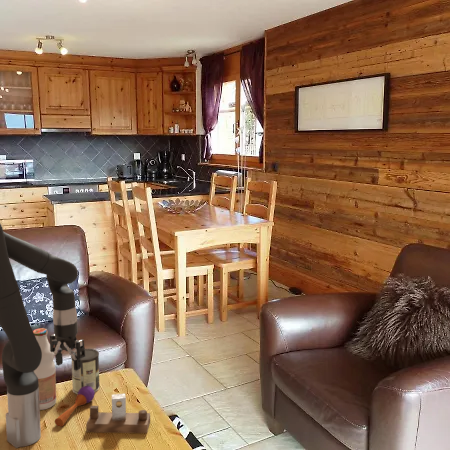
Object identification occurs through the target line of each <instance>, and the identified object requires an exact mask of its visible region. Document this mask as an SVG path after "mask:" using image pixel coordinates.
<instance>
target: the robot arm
mask: <svg viewBox="0 0 450 450" xmlns="http://www.w3.org/2000/svg"><path fill="white" fill-rule="evenodd" d="M11 260H13V261H14V262H16V263H18V264H20V265H22V266H23V267H25V268H28V269H29V270H31V271H33V272H35V273H38V274H42V275H46V280H47V284H48V288H49V291H50V293H51V296H52V317H53V318H52V320H53V323H52V324H53V334H50V335H49V344H50V351H51V352H54V358H55V366H61V365H63V363H64V360H63V351H65V352H67V353H68V354H69V355H70V356H71V355H72V357H73V359H74V360H73V361H74V370H76V371H77V370H79V369H80V368H81V358H83V357H85V349H86V348H85V340H84V339H80V340H79V339H77V335H78V332H79V330H78V328H79V327H78V314H77V313H78V312H77V309H76V307H77V305H76V295H75V291H74V290H73V289H71V288H70V287H69V286H68V285H70V284H72V283H74V282H75V281H76V280H77V278H78V276H79V272H78V271H79V270H78V267H76V264H74V263H72V262H70V261H69V260H66V259H64V258H61V257H59V256H56V255H53V254H52V253H50V252H49V251H46V250H45V249H43V248H41V247H40V246H37V245H35V244H33V243H30V242H28V241H26V240H23V239H21V238H19V237H16V236H13V235H11V234H9V233H7V232H5V231H4V229H3V226H2V224H1V223H0V328H1V329H2V330H3V332H4V333H5V335H6V337H7V338H8V341H7V342H6V343H5V345H4V346H3V349H2V352H1V365H2V375H3V381H4V383H5V384H4V385H5V386H6V394H7V395H6V396H7V409H8V410H7V412H5V427H6V428H5V429H6V441H7V442H8V443H9V444H11V445H12V446H13V447H14V448H15V449H18V448H20V447H27V446H30V445H33V444H35V443H37V442H38V441H39V440H40V439H41V433H42V431H41V412H40V411H41V410H40V405H39V382H38V377H37V376H36V374H35V373H34V370H36V369H37V368H38V366H39V365H40V363H41V359H42V351H41V348H40V346H39V343H38V341H37V339H36V337H35V335H34V333H33V328H32V326H31V323H30V320H29V316H28V313H27V310H26V307H25V303H24V299H23V296H22V294H21V290H20V287H19V285H18V282H17V279H16V275H15V271H14V269H13V267H12V263H11ZM80 352H81V353H82V354H80ZM75 353H76V354H77V356H76V355H75Z"/></svg>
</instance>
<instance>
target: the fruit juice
mask: <svg viewBox="0 0 450 450" xmlns="http://www.w3.org/2000/svg"><path fill="white" fill-rule="evenodd" d="M32 331H33V333H34V335H35V337H36V339H37V341H38V343H39V346H40V348H41V351H42V359H41V363H40V365H39V366H38V368H37V369H36V370H34V373H35V374H36V376H37V377H38V382H39V405H40V411H41V410H47V409H50V408H51V407H53V406H55V404H56V403H57V381H56V379H57V378H56V377H57V376H56V362H55V361H54V358H55V354H54V352H51V351H50V341H49V340H48V329H47V328H43V327H42V328H40V327H39V328H36V329H34V330H33V329H32Z"/></svg>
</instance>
